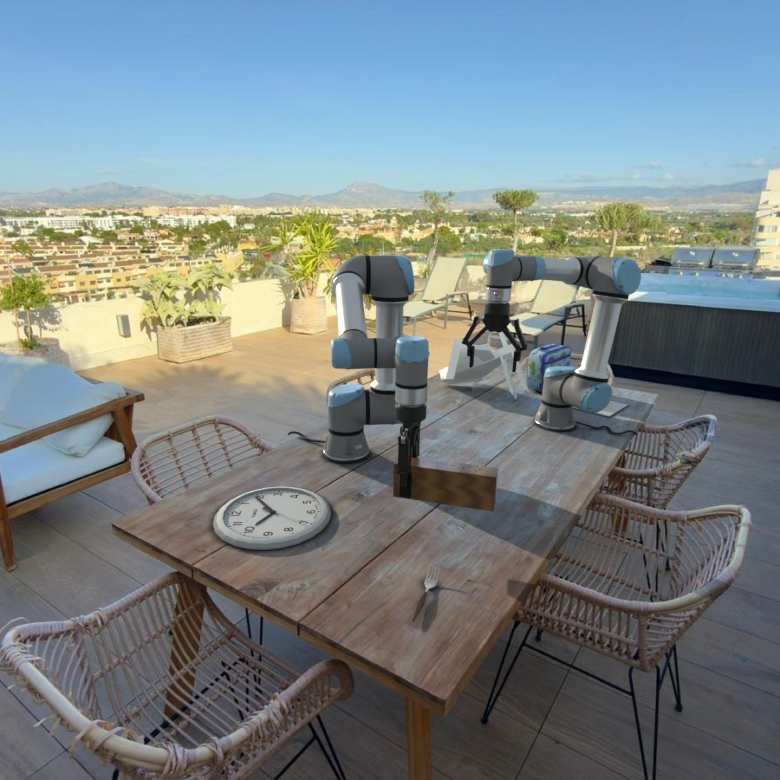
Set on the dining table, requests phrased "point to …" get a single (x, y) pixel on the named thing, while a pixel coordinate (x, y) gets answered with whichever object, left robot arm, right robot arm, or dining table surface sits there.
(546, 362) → the lunch box
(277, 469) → the dining table surface
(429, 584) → the fork
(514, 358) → the right robot arm
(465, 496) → the bar
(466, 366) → the white plastic object
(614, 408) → the invitation card
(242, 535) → the wall clock
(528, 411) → the dining table surface
